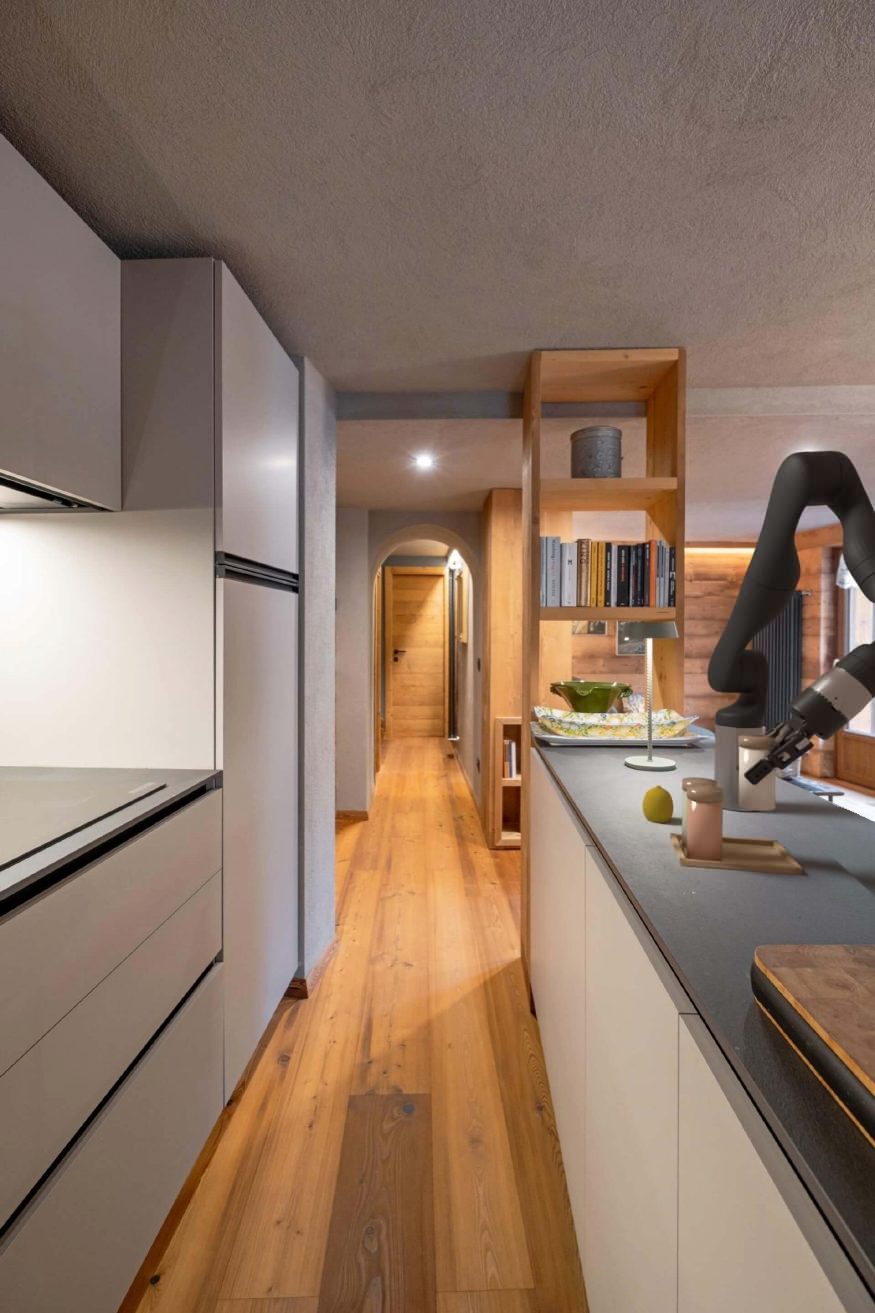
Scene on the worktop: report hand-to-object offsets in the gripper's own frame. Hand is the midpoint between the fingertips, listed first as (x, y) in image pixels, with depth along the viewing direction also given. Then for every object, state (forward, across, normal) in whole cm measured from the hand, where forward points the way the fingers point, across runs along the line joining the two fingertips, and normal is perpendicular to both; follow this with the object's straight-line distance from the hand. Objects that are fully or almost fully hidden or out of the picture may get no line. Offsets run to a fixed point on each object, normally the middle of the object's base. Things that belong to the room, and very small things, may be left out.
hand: (744, 776), depth 107 cm
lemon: (+18, -18, +2) cm, 26 cm away
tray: (+11, 0, +9) cm, 14 cm away
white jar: (+2, 0, +5) cm, 5 cm away
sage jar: (+13, -3, +4) cm, 14 cm away
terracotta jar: (+13, +3, +4) cm, 14 cm away
